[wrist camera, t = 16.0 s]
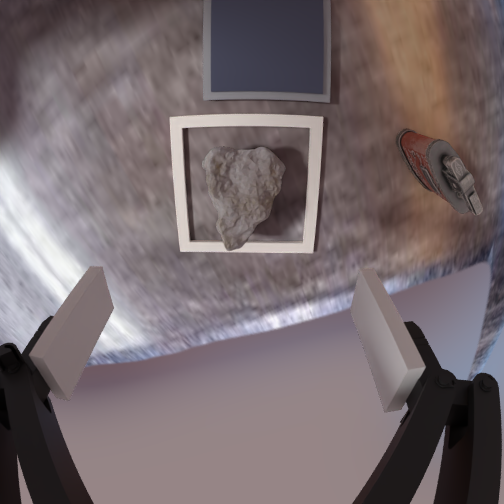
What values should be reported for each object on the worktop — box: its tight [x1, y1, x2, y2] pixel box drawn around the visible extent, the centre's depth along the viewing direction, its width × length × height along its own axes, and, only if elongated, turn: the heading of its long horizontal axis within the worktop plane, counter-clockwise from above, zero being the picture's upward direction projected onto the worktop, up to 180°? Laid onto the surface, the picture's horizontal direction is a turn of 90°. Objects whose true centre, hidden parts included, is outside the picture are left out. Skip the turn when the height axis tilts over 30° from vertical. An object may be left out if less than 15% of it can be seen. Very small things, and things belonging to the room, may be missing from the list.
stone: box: [202, 146, 285, 251], centre depth 30 cm, size 10×8×6 cm
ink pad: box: [203, 0, 331, 103], centre depth 24 cm, size 12×12×1 cm
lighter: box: [396, 129, 483, 215], centre depth 25 cm, size 8×3×10 cm, turn 44°
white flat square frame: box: [170, 114, 323, 253], centre depth 32 cm, size 15×15×1 cm
